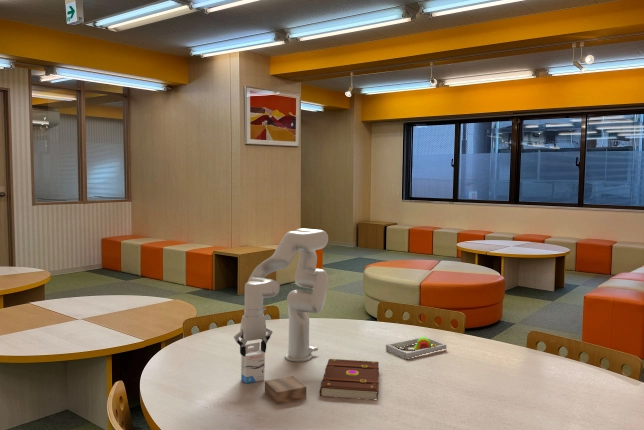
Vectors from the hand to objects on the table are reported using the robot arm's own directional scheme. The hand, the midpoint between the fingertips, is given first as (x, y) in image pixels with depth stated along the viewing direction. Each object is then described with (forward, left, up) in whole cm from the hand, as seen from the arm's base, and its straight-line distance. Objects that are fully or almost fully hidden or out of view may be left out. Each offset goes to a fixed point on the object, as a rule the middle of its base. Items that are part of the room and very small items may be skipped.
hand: (253, 353), depth 217 cm
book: (-34, +22, -12) cm, 42 cm away
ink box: (0, 0, -11) cm, 11 cm away
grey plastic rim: (-85, +6, -11) cm, 86 cm away
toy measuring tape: (-85, +6, -11) cm, 86 cm away
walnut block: (-4, +20, -12) cm, 23 cm away
